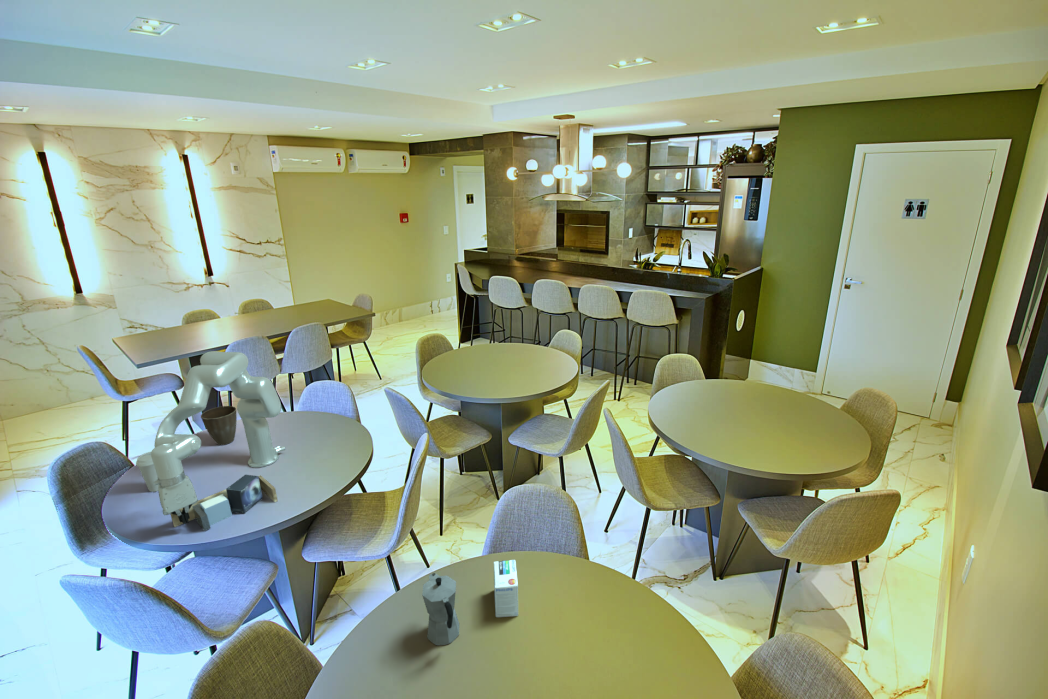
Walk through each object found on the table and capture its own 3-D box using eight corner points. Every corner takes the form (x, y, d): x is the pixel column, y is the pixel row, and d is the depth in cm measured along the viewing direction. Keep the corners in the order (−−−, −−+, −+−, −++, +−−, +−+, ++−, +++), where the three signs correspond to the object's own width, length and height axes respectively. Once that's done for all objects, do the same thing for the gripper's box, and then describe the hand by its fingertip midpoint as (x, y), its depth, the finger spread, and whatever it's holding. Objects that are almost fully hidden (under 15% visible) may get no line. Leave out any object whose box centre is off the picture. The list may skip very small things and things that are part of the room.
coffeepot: (419, 621, 141) (413, 569, 136) (451, 608, 145) (446, 557, 140) (437, 664, 128) (431, 609, 123) (471, 648, 132) (467, 594, 127)
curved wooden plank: (263, 487, 207) (260, 475, 205) (277, 501, 198) (275, 487, 196) (173, 525, 185) (169, 512, 183) (185, 542, 176) (181, 528, 174)
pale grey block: (227, 510, 193) (222, 493, 191) (232, 516, 190) (228, 499, 187) (203, 520, 188) (199, 503, 185) (208, 526, 184) (204, 509, 182)
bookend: (201, 517, 189) (198, 504, 187) (210, 528, 182) (207, 514, 181) (195, 519, 187) (192, 506, 186) (204, 531, 181) (200, 517, 179)
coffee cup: (177, 483, 212) (168, 451, 207) (155, 495, 204) (145, 463, 199) (161, 479, 215) (152, 448, 210) (138, 491, 207) (128, 459, 202)
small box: (245, 514, 190) (239, 490, 187) (230, 512, 192) (224, 489, 188) (264, 498, 200) (259, 475, 197) (250, 496, 201) (244, 473, 198)
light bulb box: (494, 589, 152) (492, 560, 148) (516, 587, 152) (515, 558, 149) (495, 618, 141) (494, 588, 138) (519, 616, 142) (518, 585, 139)
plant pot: (210, 438, 250) (202, 409, 245) (243, 432, 256) (237, 403, 251) (206, 452, 237) (198, 421, 232) (241, 444, 243) (234, 414, 238)
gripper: (149, 492, 167) (164, 537, 173) (199, 472, 177) (211, 516, 183) (143, 483, 172) (158, 528, 178) (193, 465, 182) (204, 507, 188)
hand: (185, 521), depth 180 cm, fingers closed
